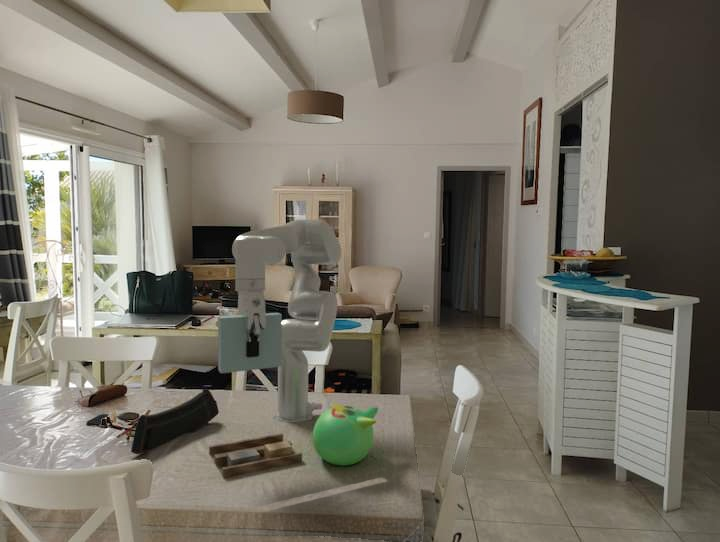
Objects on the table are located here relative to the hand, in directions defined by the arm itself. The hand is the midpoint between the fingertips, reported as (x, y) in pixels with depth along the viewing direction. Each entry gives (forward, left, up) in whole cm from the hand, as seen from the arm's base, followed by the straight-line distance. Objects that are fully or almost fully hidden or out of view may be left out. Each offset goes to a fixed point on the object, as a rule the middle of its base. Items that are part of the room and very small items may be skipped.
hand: (250, 354), depth 137 cm
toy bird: (-21, +14, -27) cm, 37 cm away
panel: (0, 0, -4) cm, 4 cm away
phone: (+30, -41, -28) cm, 58 cm away
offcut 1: (+4, +8, -26) cm, 27 cm away
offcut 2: (-5, +8, -26) cm, 28 cm away
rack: (0, +4, -27) cm, 27 cm away
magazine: (+15, -21, -27) cm, 37 cm away
